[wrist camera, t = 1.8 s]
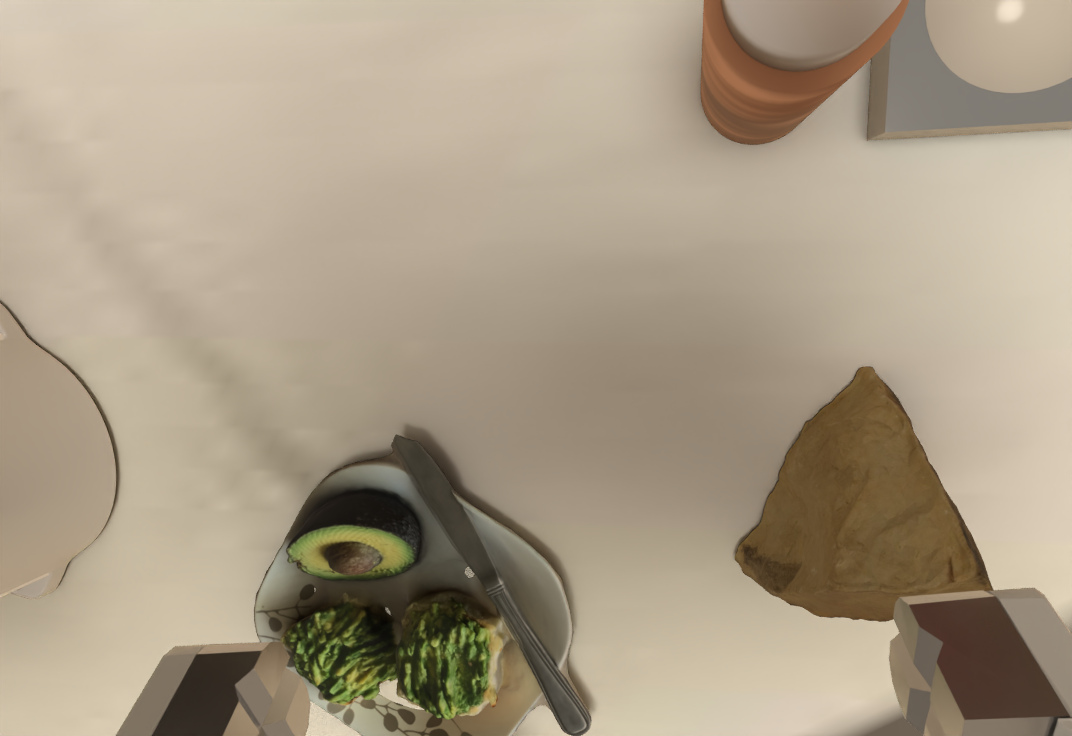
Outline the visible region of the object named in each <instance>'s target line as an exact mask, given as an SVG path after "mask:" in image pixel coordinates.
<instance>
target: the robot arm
mask: <svg viewBox="0 0 1072 736" xmlns="http://www.w3.org/2000/svg"><path fill="white" fill-rule="evenodd" d="M115 490H116V466H115V458H114V453H113V448H112V444H111V440H110V437H109V434H108V431H107V428H106V426H105V423H104V421H103V419H102V416H101V414H100V412H99V410H98V408H97V407H96V405H95V403H94V401H93V400H92V398H91V397H90V395H89V394H88V392H87V391H86V389H85V388H84V387H83V386H82V384H81V383H80V382H79V381H78V379H77V378H76V377H75V376H74V375H73V374H72V373H71V372H70V371H69V370H68V369H67V368H66V367H65V366H64V365H63V364H62V363H60V362H59V361H58V360H57V359H55V358H54V357H53V356H51V355H50V354H48V353H47V352H46V351H44V350H43V349H41V348H40V347H38V346H37V345H36V344H35V343H33V342H32V341H31V340H30V339H29V338H28V337H27V336H26V335H25V333H24V332H23V330H22V329H21V328H20V326H19V325H18V323H17V322H16V321H15V319H14V318H13V317H12V315H11V314H10V313H9V311H8V310H7V309H6V308H5V307H4V306H3V305H2V304H1V303H0V598H1V597H3V596H5V595H7V594H9V593H12V594H15V595H19V596H22V597H25V598H29V599H37V598H40V597H42V596H44V595H46V594H49V593H51V592H53V591H54V590H55V589H56V588H57V586H58V585H59V583H60V581H61V579H62V577H63V574H64V572H65V570H66V567H67V565H68V563H69V562H70V560H71V559H72V558H74V557H75V556H76V555H77V554H78V553H80V552H81V551H82V550H84V549H85V548H86V547H88V546H89V545H90V544H91V543H92V542H93V541H94V540H95V539H96V538H97V537H98V535H99V534H100V533H101V531H102V529H103V528H104V526H105V524H106V522H107V520H108V518H109V515H110V513H111V510H112V506H113V502H114V497H115ZM893 618H894V621H895V623H896V625H897V627H898V630H899V632H900V633H899V634H898V635H897V636H896V637H895V638H894V639H892V640H891V641H890V656H889V661H890V668H891V675H892V682H893V685H894V689H895V692H896V695H897V699H898V702H899V704H900V707H901V709H902V712H903V714H904V717H905V719H906V721H907V722H909V723H910V724H911V725H912V726H914V727H915V728H916V729H917V730H918V731H920V732H921V733H922V734H923V735H924V736H1072V634H1071V632H1070V631H1069V629H1068V628H1067V627H1066V625H1065V624H1064V622H1063V621H1062V619H1061V618H1060V617H1059V615H1058V614H1057V612H1056V611H1055V610H1054V608H1053V607H1052V605H1051V604H1050V602H1049V601H1048V600H1047V598H1046V597H1045V595H1044V594H1042V593H1041V592H1040V591H1038V590H1037V589H1035V588H1021V589H1007V590H993V591H986V592H985V591H983V590H980V591H968V592H956V593H943V594H931V595H919V596H907V597H899V598H898V600H897V601H896V603H895V607H894V615H893ZM289 658H290V656H289V654H288V653H287V651H286V649H285V648H284V646H283V645H282V643H281V642H260V643H234V644H209V645H192V646H175V647H174V648H173V649H171V650H170V651H169V652H168V653H167V654H165V655H164V656H163V658H162V659H161V661H160V662H159V664H158V666H157V668H156V669H155V671H154V673H153V674H152V676H151V678H150V679H149V681H148V683H147V684H146V686H145V688H144V689H143V691H142V693H141V694H140V696H139V698H138V699H137V701H136V703H135V704H134V706H133V708H132V709H131V711H130V713H129V714H128V716H127V718H126V719H125V721H124V723H123V724H122V726H121V728H120V730H119V731H118V733H117V735H116V736H305V735H306V732H307V729H308V725H309V713H310V699H309V694H308V689H307V687H306V685H305V683H304V681H303V679H302V677H301V676H299V675H297V674H296V673H294V672H292V671H291V670H289V669H287V668H286V666H287V663H288V661H289Z"/></svg>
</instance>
